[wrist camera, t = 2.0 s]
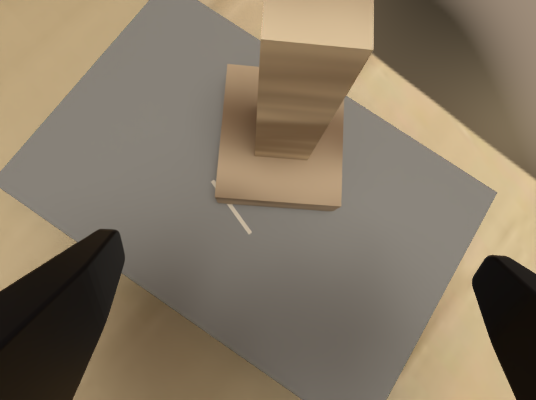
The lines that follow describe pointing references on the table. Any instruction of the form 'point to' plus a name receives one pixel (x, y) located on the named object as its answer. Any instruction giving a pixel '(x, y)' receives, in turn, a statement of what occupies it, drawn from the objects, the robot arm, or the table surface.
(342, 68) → the wooden block tower
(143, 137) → the board
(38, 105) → the table surface
